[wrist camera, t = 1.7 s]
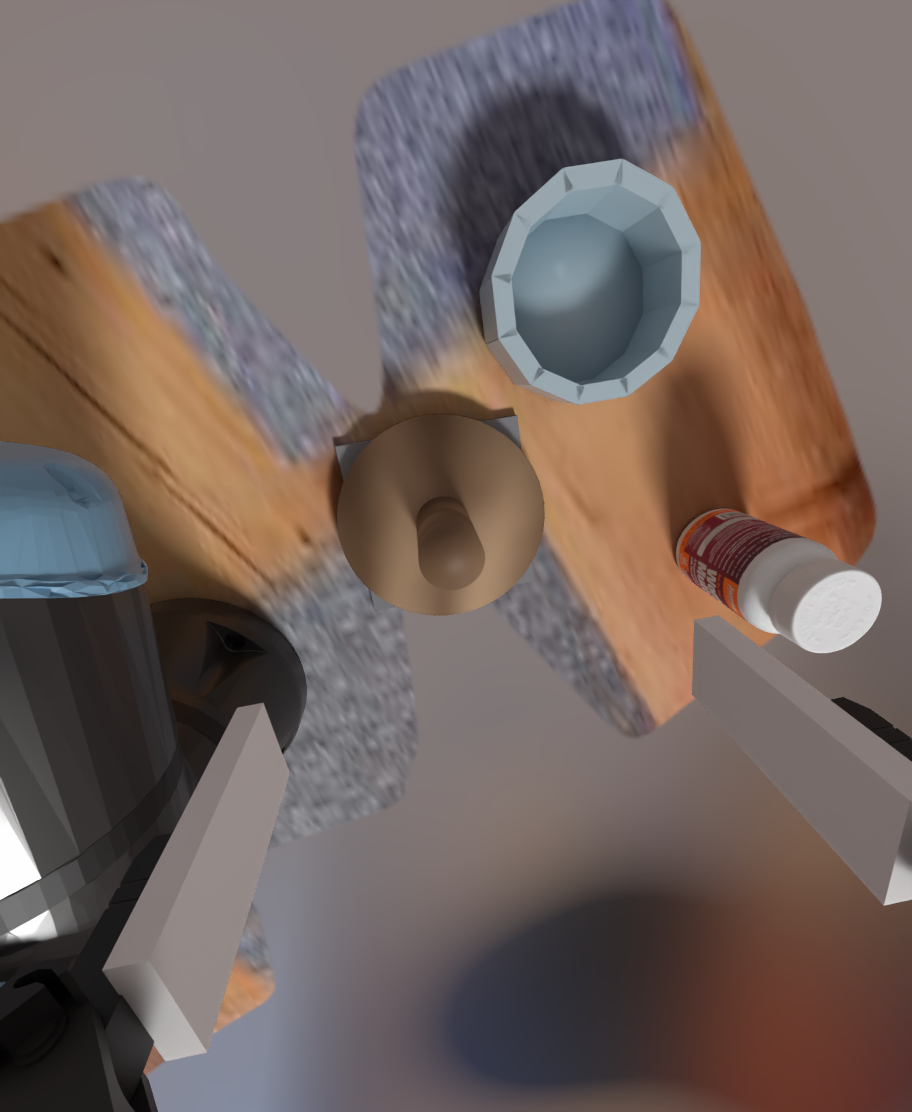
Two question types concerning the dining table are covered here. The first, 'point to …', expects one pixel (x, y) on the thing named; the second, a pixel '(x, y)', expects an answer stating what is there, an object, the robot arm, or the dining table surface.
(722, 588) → the pill bottle
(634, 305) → the bowl
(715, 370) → the dining table surface
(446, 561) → the lid
